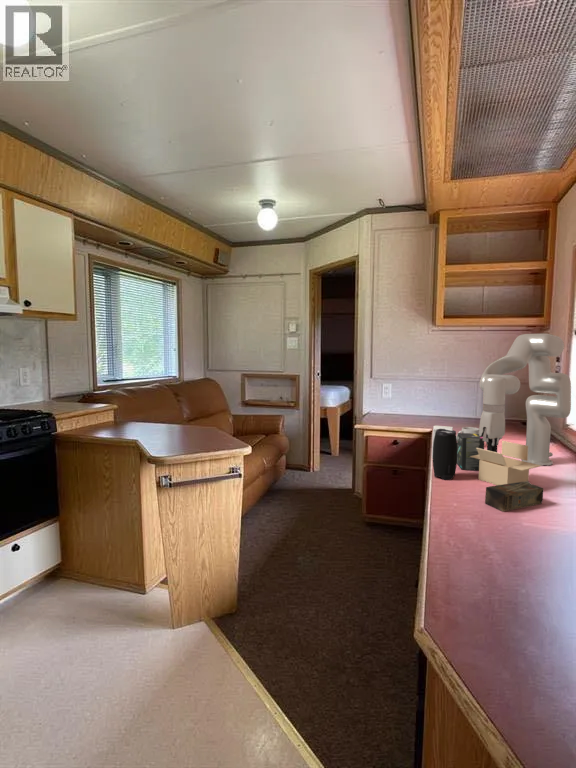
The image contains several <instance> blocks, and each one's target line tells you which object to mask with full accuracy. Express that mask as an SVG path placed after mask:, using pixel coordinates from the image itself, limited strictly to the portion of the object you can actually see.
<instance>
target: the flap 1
mask: <svg viewBox="0 0 576 768" xmlns="http://www.w3.org/2000/svg"><path fill="white" fill-rule="evenodd" d="M476 449H477V451H478V453H479V456H480V458H481V459H482V460H486V461H490V462H494V463H497V464H501V465H505V466H507V465H506V462H505V460H504V457H505V456H504V455H502V452H498V451H497V452H493V451H488V450H487V449H485V448H484V449H480V448H476Z"/></svg>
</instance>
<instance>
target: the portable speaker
mask: <svg viewBox="0 0 576 768" xmlns="http://www.w3.org/2000/svg"><path fill="white" fill-rule="evenodd" d="M456 436H457V431H456V430H454V429H453V431H450V430H446V429H437V430H436V432H435V437H434V442H433V459H432V466H433V476H434V478H437V477H438V478H441V480H443V479H444V480H443V481H450V480H453V478H454V477H455V476H456V471H457V466H458V465H457V439H456Z"/></svg>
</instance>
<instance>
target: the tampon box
mask: <svg viewBox="0 0 576 768" xmlns="http://www.w3.org/2000/svg"><path fill="white" fill-rule="evenodd" d="M457 433H458V432H457ZM456 436H457V435H456ZM476 448H480V449H484V450H485V442H484V441H483V437H480V436H479V434H471V433H462V432H461V433H458V436H457V465H456V466H458V467H459V469H460V470H461V471H474V472H475V471H476V472H479V460H480V459H476V458H472V457H470V456H474V455H479V453H478V451H477V449H476Z"/></svg>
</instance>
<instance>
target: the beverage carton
mask: <svg viewBox="0 0 576 768" xmlns="http://www.w3.org/2000/svg"><path fill="white" fill-rule="evenodd" d="M543 500H544V487H541V486H539V485H535V484H532V483H531V482H529V481H528V482H526V481H525V482H518V483H510V484H503V485H491V486H486V487H485V496H484V504H485V505H487V506H490V507H492V508H494V509H496V510H499V511H500V512H502V513H503V512H508V511H513V510H518V509H523V508H528V507H532V506H533V507H534V506H537V505H542V504H543Z"/></svg>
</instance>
